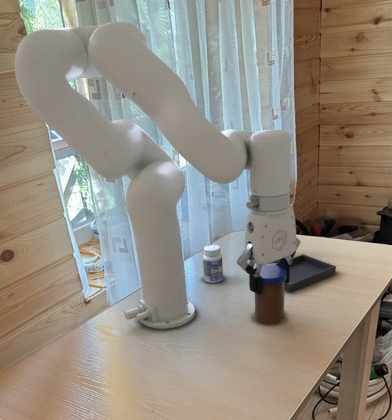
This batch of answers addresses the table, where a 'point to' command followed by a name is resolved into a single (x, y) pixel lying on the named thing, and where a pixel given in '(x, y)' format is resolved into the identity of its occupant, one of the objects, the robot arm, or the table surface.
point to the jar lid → (273, 274)
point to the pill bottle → (212, 264)
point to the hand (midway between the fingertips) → (269, 286)
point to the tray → (307, 272)
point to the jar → (270, 304)
